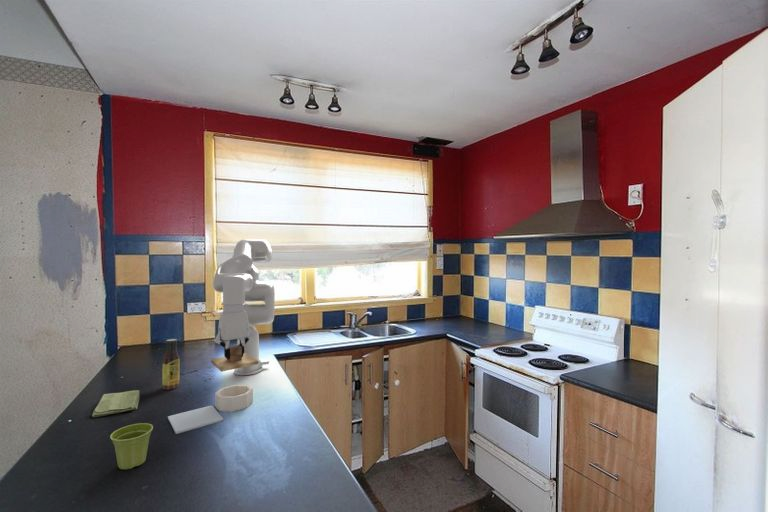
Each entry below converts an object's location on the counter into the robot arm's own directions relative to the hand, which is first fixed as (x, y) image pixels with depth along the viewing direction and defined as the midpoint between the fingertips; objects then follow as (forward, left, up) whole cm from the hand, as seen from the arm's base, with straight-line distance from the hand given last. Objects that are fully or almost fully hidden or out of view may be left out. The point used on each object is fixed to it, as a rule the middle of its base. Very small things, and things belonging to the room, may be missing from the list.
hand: (234, 356), depth 134 cm
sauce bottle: (+15, -34, -18) cm, 41 cm away
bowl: (0, 0, -18) cm, 18 cm away
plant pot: (+33, +21, -18) cm, 43 cm away
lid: (0, 0, -2) cm, 2 cm away
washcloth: (+33, -26, -18) cm, 46 cm away
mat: (+14, +4, -18) cm, 23 cm away
